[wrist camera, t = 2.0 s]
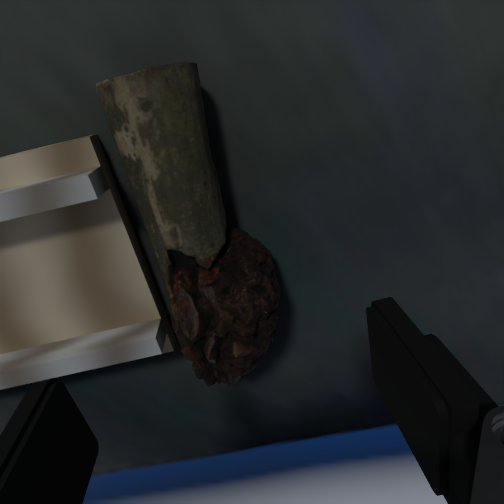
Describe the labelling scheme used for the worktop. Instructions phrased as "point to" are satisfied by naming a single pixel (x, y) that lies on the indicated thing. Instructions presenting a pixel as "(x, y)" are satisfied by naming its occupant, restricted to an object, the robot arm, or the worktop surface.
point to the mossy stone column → (192, 222)
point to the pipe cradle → (71, 268)
